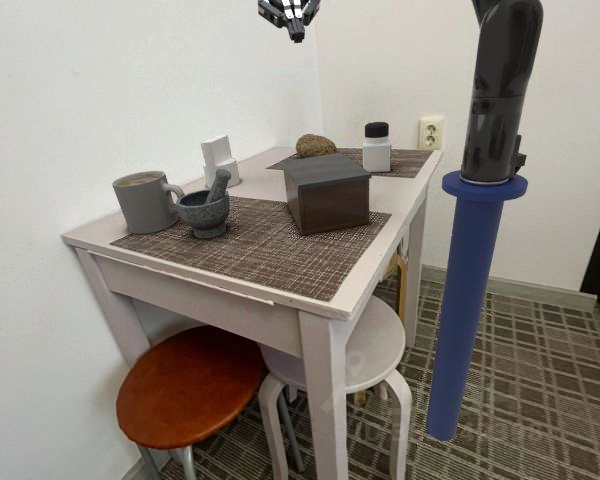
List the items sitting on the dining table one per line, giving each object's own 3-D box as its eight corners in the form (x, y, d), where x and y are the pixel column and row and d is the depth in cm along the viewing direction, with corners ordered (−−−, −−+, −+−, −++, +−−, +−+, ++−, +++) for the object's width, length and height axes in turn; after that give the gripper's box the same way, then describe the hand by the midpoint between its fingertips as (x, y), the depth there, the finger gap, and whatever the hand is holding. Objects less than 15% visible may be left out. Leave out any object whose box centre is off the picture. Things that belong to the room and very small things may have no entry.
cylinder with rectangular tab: (218, 177, 96) (209, 135, 90) (245, 178, 93) (238, 134, 87) (200, 188, 89) (189, 143, 83) (229, 189, 86) (220, 142, 80)
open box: (369, 223, 60) (369, 176, 56) (302, 235, 58) (297, 188, 54) (342, 195, 74) (341, 156, 69) (287, 204, 72) (282, 165, 68)
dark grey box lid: (371, 178, 55) (371, 173, 55) (298, 190, 53) (298, 185, 53) (341, 156, 69) (340, 152, 69) (282, 165, 68) (282, 161, 67)
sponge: (296, 155, 116) (291, 157, 97) (298, 132, 114) (294, 130, 95) (333, 159, 116) (335, 162, 96) (336, 136, 113) (339, 135, 94)
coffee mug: (118, 232, 67) (100, 185, 63) (152, 212, 75) (138, 170, 71) (170, 237, 63) (154, 187, 58) (200, 216, 71) (189, 170, 66)
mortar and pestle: (176, 243, 60) (156, 180, 55) (196, 221, 68) (181, 164, 63) (234, 241, 59) (220, 176, 53) (248, 219, 67) (237, 161, 61)
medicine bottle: (390, 171, 86) (392, 123, 80) (362, 173, 87) (362, 126, 81) (388, 164, 92) (390, 119, 86) (362, 165, 93) (362, 121, 87)
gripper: (246, -46, 62) (263, 23, 56) (314, -50, 63) (336, 16, 58) (249, -5, 69) (264, 59, 64) (310, -10, 70) (329, 52, 65)
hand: (298, 38), depth 61 cm, fingers closed
